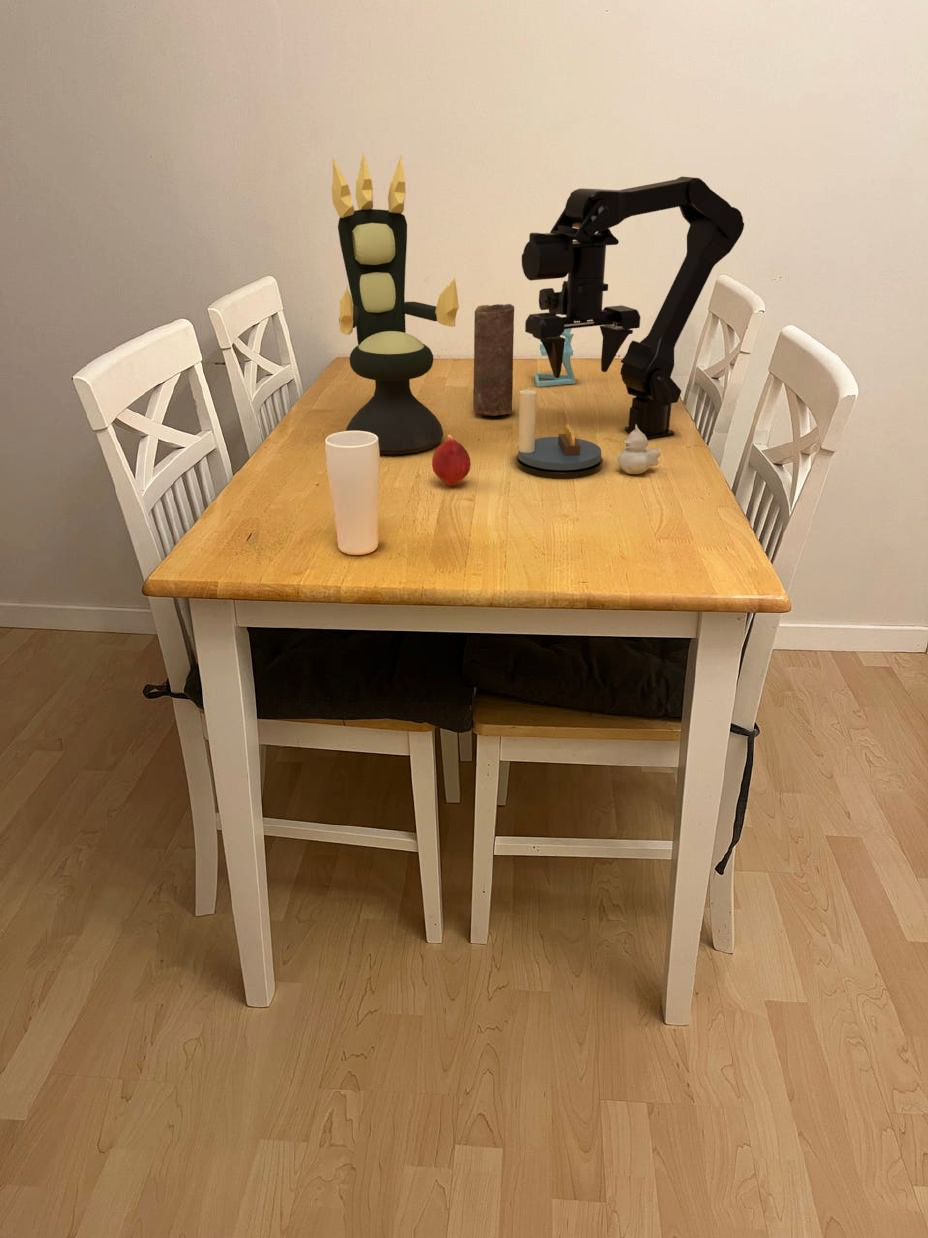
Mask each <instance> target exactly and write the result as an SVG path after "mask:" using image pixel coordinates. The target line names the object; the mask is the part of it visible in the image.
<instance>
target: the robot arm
mask: <svg viewBox="0 0 928 1238" xmlns="http://www.w3.org/2000/svg"><path fill="white" fill-rule="evenodd" d="M674 208H679V210H680V214H681V216H682V217H683V219H684V220H685V221H686V222H687V223H688V224H689V227H688V230H687V233H686V254H685V257H684V259H683V261H682V263H681V265H680V267H679V270H678V272H677V274H676V275H675V278H674V279H673V282H672V284H671V286H670V289H669V291H668V293H667V295H666V297H665V299H664V301H663V303H662V305H661V307H660V309H659V312H658V314H657V315H656V318H655V320H654V322H653V324H652V326H651V328H650V330H649V331H648V332H649V333H647V335H646V336H645V337H644V338H643V339H642V340H640V341H636V340H633V339H632V340H631V342H630V343H629V344H628V348H627V350H626V353H625V355H624V357H623V358H621V360H620V363H622V365H621V368H620V375H621V381H622V383H623V384H624V385H625V389H626V391H627V394H628V395H631V396H633V397H632V400H631V406H630V408H629V414H628V425H627V426H625V427H624V431H626V432H628V433H629V434H630V433H631V432H632V431H634V430H635V425H637V427H638V429H639V430H640V431H641V432H642V433H643V434H644V435H645V436H646V438H647V440H649V439H655V438H661V437H668V436H673V435H675V431H674V430H671V429H670V423H671V415H672V405H673V404H676V403H678V401H679V399H680V397H681V395H682V389H680V387H679V386H678V384H677V383H676V382H675V381H674V380H673V378H672V374H673V371H674V369H675V347H676V345H677V342H678V340H679V338H680V336H681V334H682V332H683V330H684V328H685V326H686V324H687V323H688V322H687V321H689V318H690V316H691V314H692V312H693V310H694V308H695V306H696V304H697V302H698V300H699V298H700V296H701V293H702V291H703V289H704V287H705V285H706V283H707V281H708V279H709V277H710V275H711V273H712V271H713V269H714V268H715V266H716V265H717V264H718V263H719V262H721V261H722V259H725V257H726V256H727V255H728V254H729V253H731V251H732V250H733V248H734V247H735V245H736V244H737V243H738V241H739V240H740V237H741V236H742V234H743V231H744V229H745V222H744V217H743V214H742V212H741V210H739V209H738V208H736V207H734V206H731V204H730V203H729V202H728V201H727V200H725V199H724V198H723V197H721V196H720V195H719V194H717V193H716V192H715V191H713V190H712V189H711V187H710V186H709V185H708V184H707V183H706V182H705V181H704V180H702V179H701V178H700V177H692V176H680V177H678V178H676V179H671V180H666V181H660V182H655V183H650V184H645V185H639V186H634V187H628V188H625V189H624V188H623V189H602V188H583V187H582V188H581V187H580V188H577V189H574V190H573V191H571V192H570V194H569V197H568V198H567V200H566V202H565V207H564V209H563V211H562V212H561V213H560V216H558V218H557V219H556V222H555V224H554V225H553V227H552V228H551V230H550V232H545V233H542V232H530V233H529V239H528V241H527V243H525V246H524V247H523V248H524V249H523V252H522V254H521V268H522V273H523V275H524V277H526V279H527V280H528V281H541V280H542V281H543V280H553V279H554V280H555V279H565V278H566V277H567V280H563V283H562V286H561V291H556V292H555V289H554V288H553V287H548V288H542V289H539V293H538V307H539V309H540V310H541V311H548V312H540V313H538V312H537V313H531V314H529V315H528V317H527V318H526V320H525V322H524V325H525V326H524V327H525V328H524V332H525V333H528V334H531V335H532V337H533V338H535V339H537V340H539V341H540V342H541V344H543V345H544V348H545V350H546V352H547V355H548V356H547V359H548V362H549V366H550V368H551V371H552V374H553V375H554V377H555V378H559V377H560V375H561V372H562V367H563V363H562V359H563V352H564V344H565V337H564V336H562V335H561V334H562V333H563V332H564V329H571V330H572V329H579V328H580V329H581V328H588V327H589V328H590V327H599V329H600V332H601V336H602V343H601V344H602V345H601V358H600V369H601V372H603V373H607V372H608V370H609V368H610V366H611V365H612V363H613V362H614V359H615V357H616V355H617V354H618V352H619V350H620V349H621V347H622V346H623V344H624V343H625V341H626V340H627V338H628V336H630V335H633V332H634V329H640V327H641V319H642V318H641V317H642V316H641V315H640V312H639V311H638V309H636V308H633V307H629V306H625V305H622V304H621V305H613V306H604V308H603V301H604V300H603V299H604V292H609V283H605V271H606V270H605V269H606V254H607V253H606V252H607V246H617V245H619V243H620V241H619V239H618V238H617V237H616V236H615V235H614V234H613V233H612V231H611V228H613V227H615V226H618V225H619V224H621V223H622V222H623V221H625V220H626V219H628V218H631V217H634V216H639V215H646V214H649V213H654V212H660V211H664V210H669V209H674ZM559 315H560V316H559Z"/></svg>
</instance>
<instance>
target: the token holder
mask: <svg viewBox="0 0 928 1238" xmlns="http://www.w3.org/2000/svg"><path fill="white" fill-rule="evenodd" d="M518 410H519V411H518V412H519V415H518V448H517V455H518V458H519V459H520V460H521V461H522V462H523V463H525V464H527V465H530V466H533V467H537V468H542V469H549V470H577V469H583V468H587V467H591V466H593V465H595V464H597V463H598V462H599V461H600V460H601V457H602V448H601V447H600V446H599V445H598V444H596V443H595V442H592V441H589V440H586V439H583V438H577V437H576V436H575V432H574V431H573V429H572V428H571V427H570V425H569V424H564V431H563V433H558V436H547V437H546V436H544V437H537V438H536V424H537V423H536V421H537V420H536V419H537V418H536V417H537V390H533V389H522V390H520V391H519V409H518Z"/></svg>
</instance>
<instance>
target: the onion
mask: <svg viewBox="0 0 928 1238" xmlns="http://www.w3.org/2000/svg"><path fill="white" fill-rule="evenodd" d="M431 466H432V471H433V473H434V474H435V476H436V477H437V478H438V479H439V480H440V481H442V482H443V483H444V484H445V485H446V486H448V487H453V486H455V485H457V484H458V483H460V482H462V480H464V479H465V478H466V477H467V476H468V475H469V472H470V470H471V457H470V455H469V452H468V451H467V449H465V447H464V446H463V444H461V443H460V442H458V441H457V440H456V439H455V438H454V436H452V435H451V434H447V436H446V440H445V441H444V442H443V443H441V444H440V445H439V446H438V447H437V448H436V449H435V451H434V453H433V455H432V459H431Z"/></svg>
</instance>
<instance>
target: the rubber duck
mask: <svg viewBox="0 0 928 1238" xmlns="http://www.w3.org/2000/svg"><path fill="white" fill-rule="evenodd" d="M623 443H624V444H625V448H624V449H623V450H622V451H621V452H620V453H619V455H618V456H617V463H618V466H619V468H621V470H622V471H624V472H625V473H626V474H629V475H641V474H643V473H645V472H646V471H647V470H648V469H649V468H650V467H656V466H658V465H659V457H660V456H661V451H660V449H658V448H649V449H647V448H648V445H649V439H647V438H646V436H645V435H644V434H643V433H642V432H641V431H640V430H639V429H638V427H637V425H635V430H634V431H632V432H631V433H630V432H629V435H628V437H627V438H626V439H625V440H624V441H623Z"/></svg>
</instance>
